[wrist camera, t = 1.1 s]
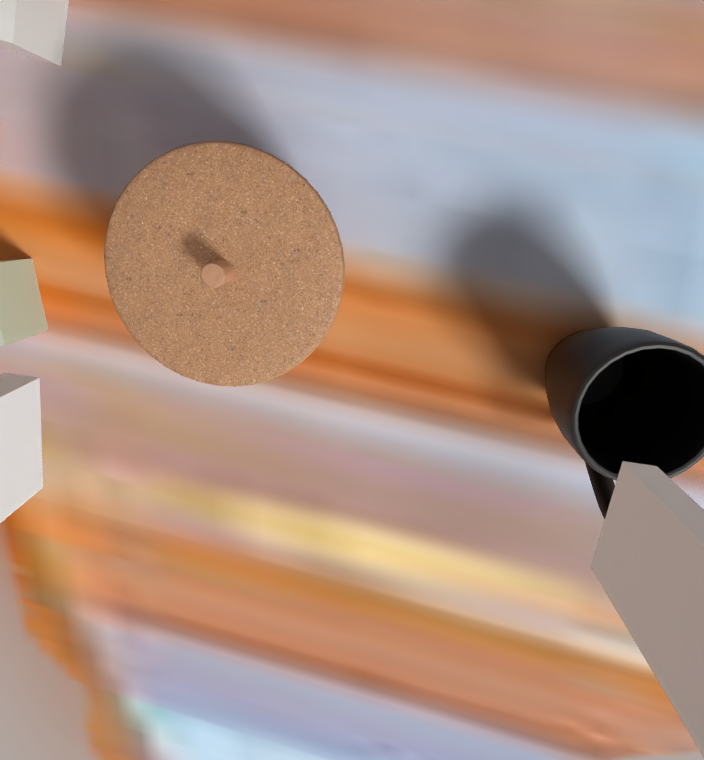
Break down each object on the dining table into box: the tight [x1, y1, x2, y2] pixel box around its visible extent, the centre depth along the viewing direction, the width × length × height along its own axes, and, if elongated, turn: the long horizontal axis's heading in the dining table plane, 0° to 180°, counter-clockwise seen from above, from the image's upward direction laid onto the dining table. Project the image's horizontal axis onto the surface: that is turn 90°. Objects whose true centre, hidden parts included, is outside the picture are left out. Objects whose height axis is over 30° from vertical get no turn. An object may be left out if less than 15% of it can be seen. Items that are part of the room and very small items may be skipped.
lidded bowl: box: [104, 141, 345, 386], centre depth 33 cm, size 13×13×11 cm
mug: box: [545, 327, 704, 519], centre depth 35 cm, size 8×12×10 cm
